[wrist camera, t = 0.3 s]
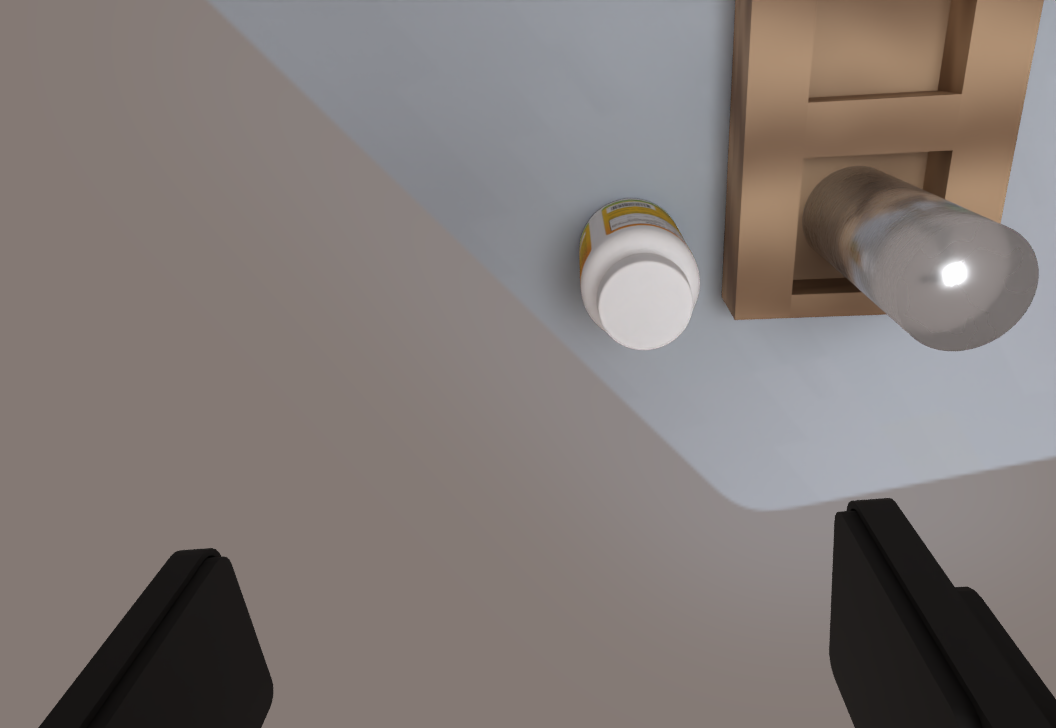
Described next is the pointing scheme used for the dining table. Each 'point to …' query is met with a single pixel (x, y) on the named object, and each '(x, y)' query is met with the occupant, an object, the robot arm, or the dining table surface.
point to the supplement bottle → (637, 274)
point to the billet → (922, 257)
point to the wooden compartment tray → (861, 126)
